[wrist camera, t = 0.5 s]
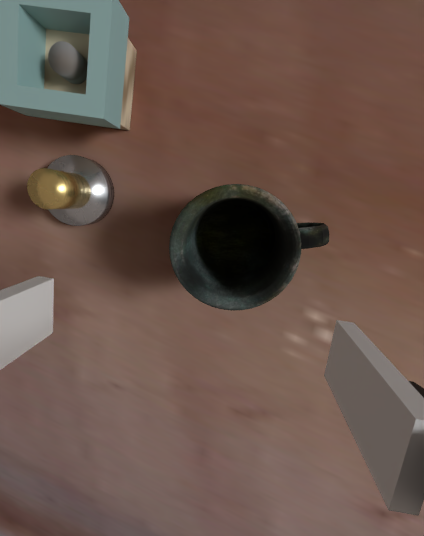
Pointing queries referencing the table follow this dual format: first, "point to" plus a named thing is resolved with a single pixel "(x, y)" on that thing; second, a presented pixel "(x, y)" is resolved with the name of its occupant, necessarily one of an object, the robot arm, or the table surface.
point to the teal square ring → (33, 59)
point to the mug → (239, 246)
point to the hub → (73, 190)
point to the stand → (81, 68)
